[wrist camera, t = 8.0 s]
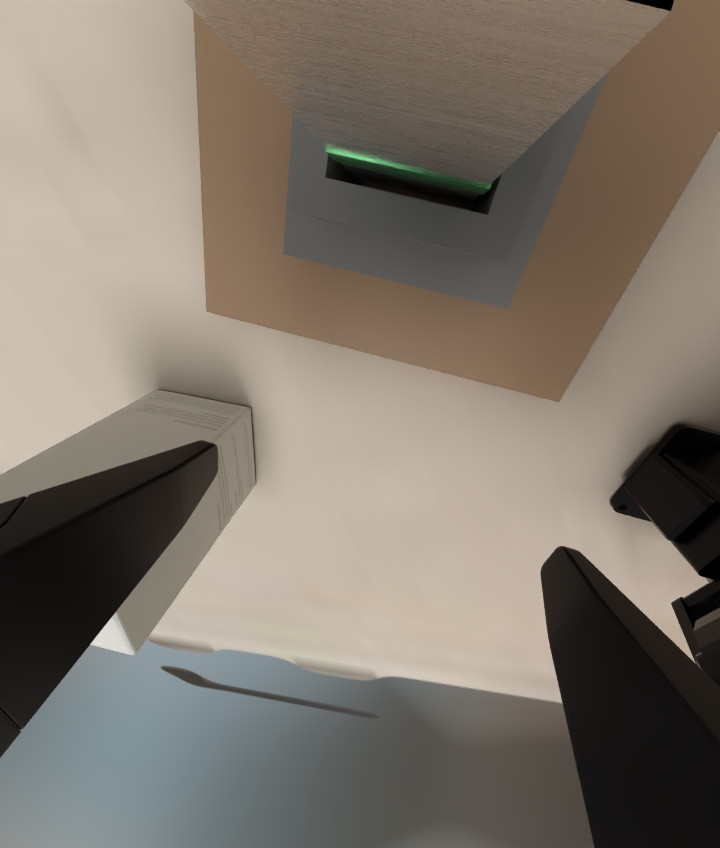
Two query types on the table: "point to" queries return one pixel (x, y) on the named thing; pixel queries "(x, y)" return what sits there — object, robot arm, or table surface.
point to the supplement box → (135, 439)
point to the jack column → (430, 76)
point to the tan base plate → (455, 218)
